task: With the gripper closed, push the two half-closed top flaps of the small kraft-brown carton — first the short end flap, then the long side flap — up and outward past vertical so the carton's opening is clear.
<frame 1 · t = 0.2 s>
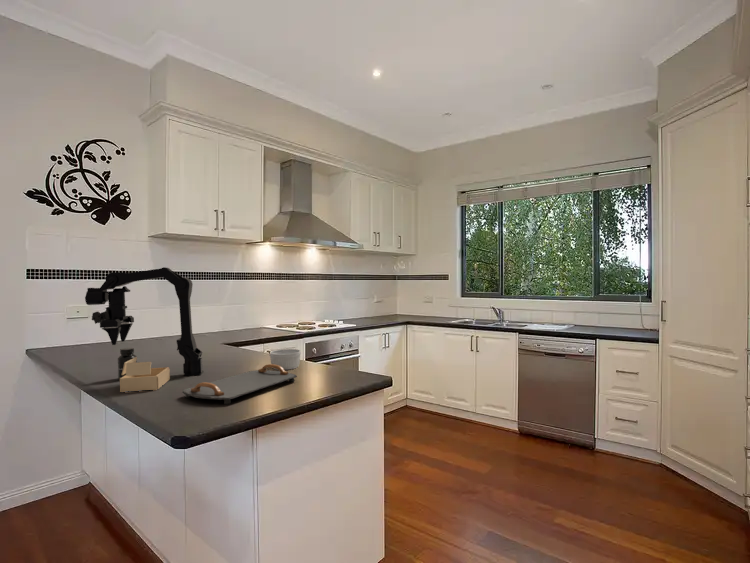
hand: (118, 343, 177), 14 cm above the countertop, tool pointing down, fingers open, 9 cm apart
serving board: (243, 391, 156), on the countertop
carton: (146, 386, 165), on the countertop
ramekin: (285, 368, 192), on the countertop
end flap: (138, 368, 157), point 8 cm above the countertop, hinge at -15.0°
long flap: (129, 365, 163), point 8 cm above the countertop, hinge at -15.0°
supplement bottle: (127, 379, 178), on the countertop
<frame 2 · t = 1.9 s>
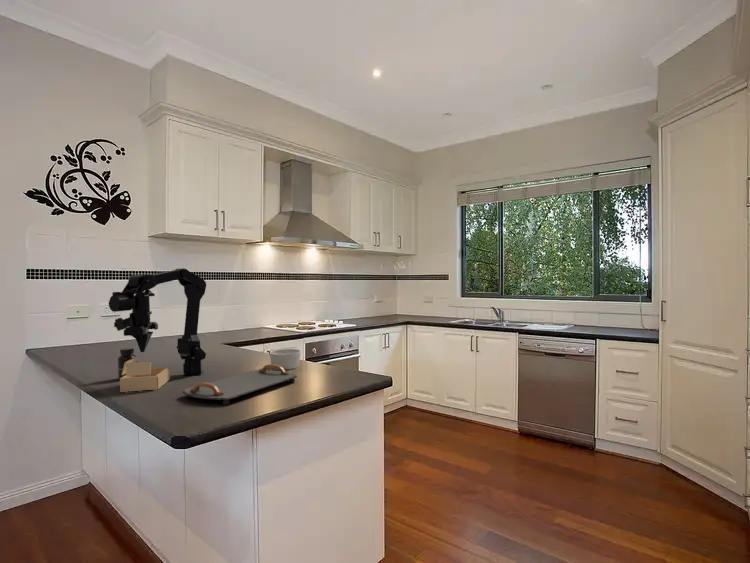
hand: (142, 352, 162), 13 cm above the countertop, tool pointing down, fingers closed
nothing on the countertop moved.
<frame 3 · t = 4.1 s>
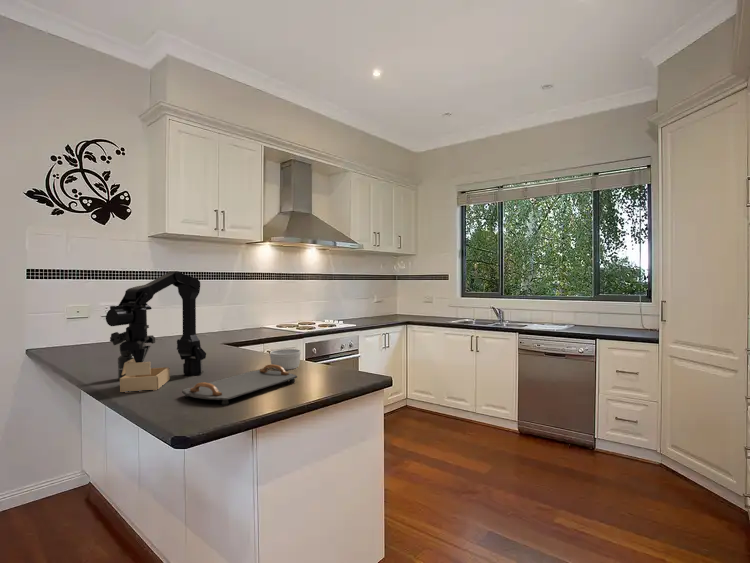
hand: (139, 367, 158), 8 cm above the countertop, tool pointing down, fingers closed
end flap: (138, 368, 157), point 8 cm above the countertop, hinge at -2.4°, touching gripper
everything else where it was.
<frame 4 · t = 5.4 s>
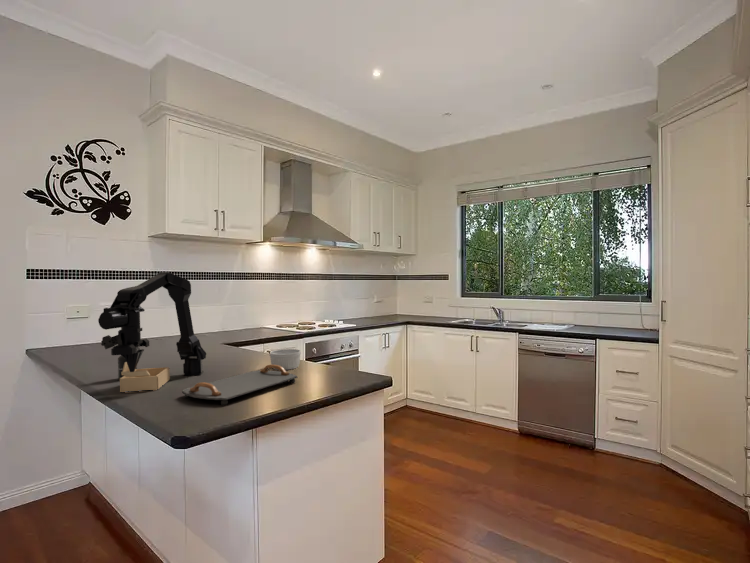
hand: (132, 371, 151), 8 cm above the countertop, tool pointing down, fingers closed
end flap: (136, 373, 154), point 7 cm above the countertop, hinge at 59.1°
everything else where it was.
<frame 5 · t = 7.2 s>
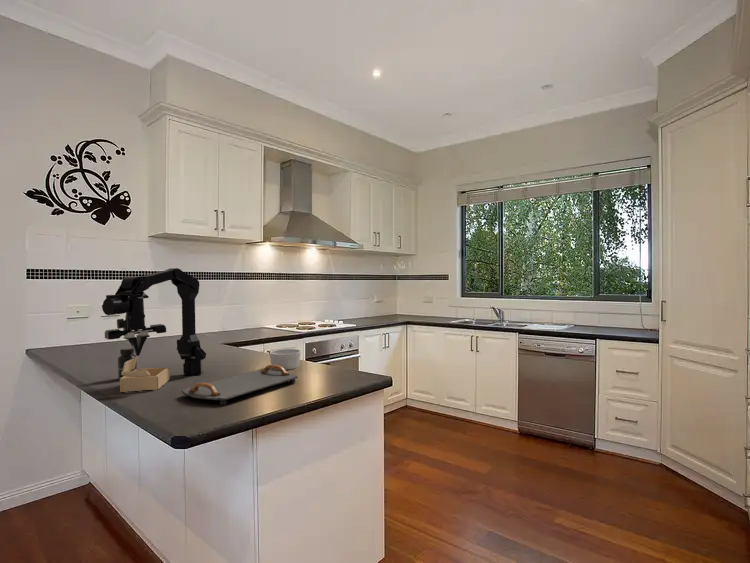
hand: (137, 355, 159), 12 cm above the countertop, tool pointing down, fingers closed
nothing on the countertop moved.
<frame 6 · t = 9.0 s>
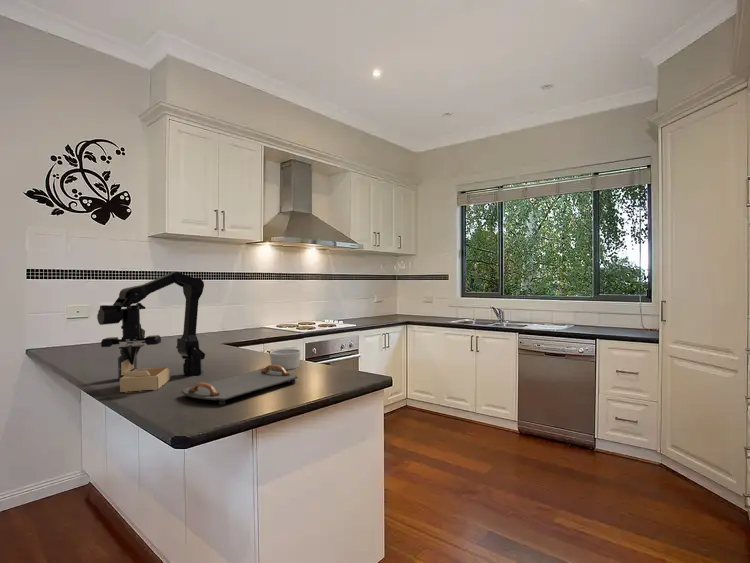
hand: (132, 364, 164), 8 cm above the countertop, tool pointing down, fingers closed
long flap: (128, 365, 163), point 8 cm above the countertop, hinge at -2.6°, touching gripper
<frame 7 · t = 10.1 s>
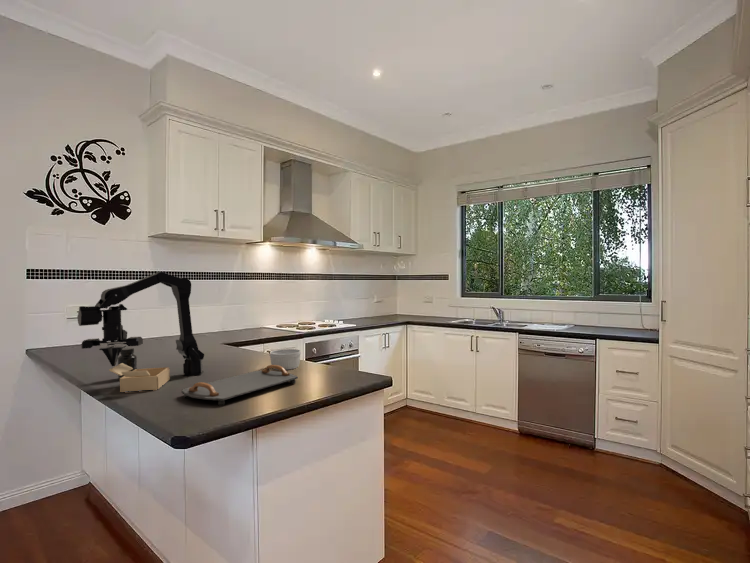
hand: (113, 366, 162), 8 cm above the countertop, tool pointing down, fingers closed
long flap: (121, 369, 163), point 7 cm above the countertop, hinge at 59.3°
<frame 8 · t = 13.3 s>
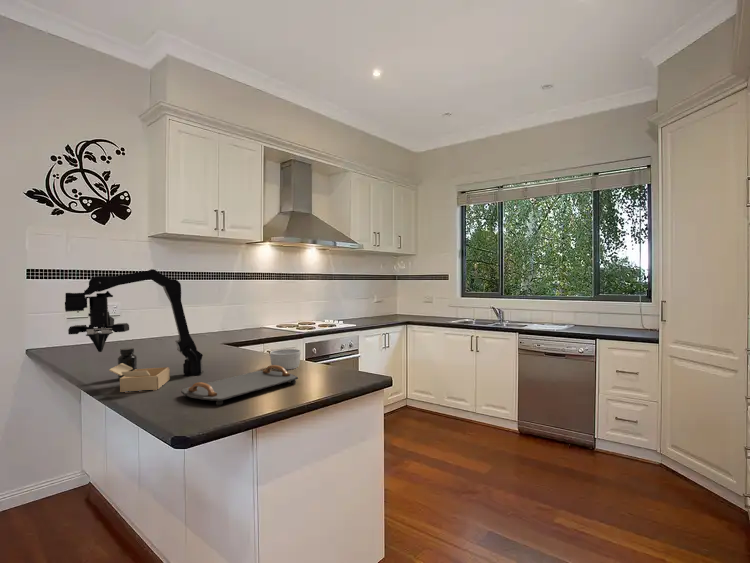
hand: (100, 351, 165), 13 cm above the countertop, tool pointing down, fingers closed
at the end: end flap at +59° (first picture: -15°); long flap at +59° (first picture: -15°) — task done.
